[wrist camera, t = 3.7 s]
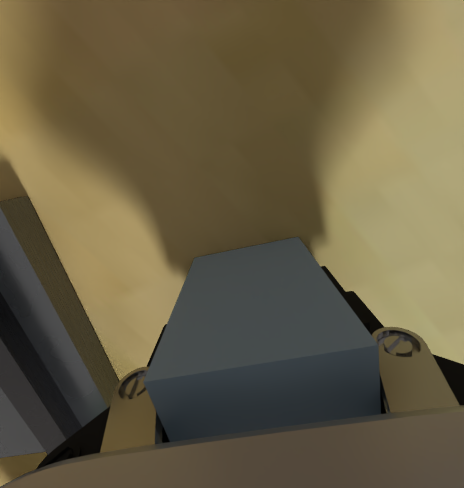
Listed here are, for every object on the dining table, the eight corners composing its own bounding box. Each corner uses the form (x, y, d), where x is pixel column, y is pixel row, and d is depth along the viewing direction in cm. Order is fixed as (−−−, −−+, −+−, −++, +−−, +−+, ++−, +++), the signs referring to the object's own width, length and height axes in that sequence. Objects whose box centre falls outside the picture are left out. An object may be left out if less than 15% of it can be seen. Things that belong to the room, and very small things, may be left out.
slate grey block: (298, 236, 12) (378, 345, 5) (314, 348, 14) (384, 527, 7) (194, 257, 12) (143, 382, 5) (225, 362, 14) (215, 543, 8)
